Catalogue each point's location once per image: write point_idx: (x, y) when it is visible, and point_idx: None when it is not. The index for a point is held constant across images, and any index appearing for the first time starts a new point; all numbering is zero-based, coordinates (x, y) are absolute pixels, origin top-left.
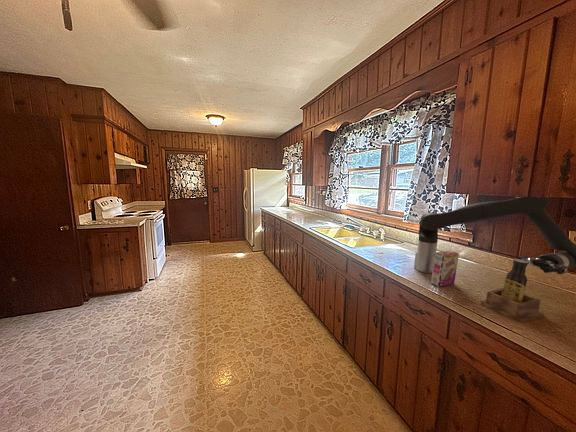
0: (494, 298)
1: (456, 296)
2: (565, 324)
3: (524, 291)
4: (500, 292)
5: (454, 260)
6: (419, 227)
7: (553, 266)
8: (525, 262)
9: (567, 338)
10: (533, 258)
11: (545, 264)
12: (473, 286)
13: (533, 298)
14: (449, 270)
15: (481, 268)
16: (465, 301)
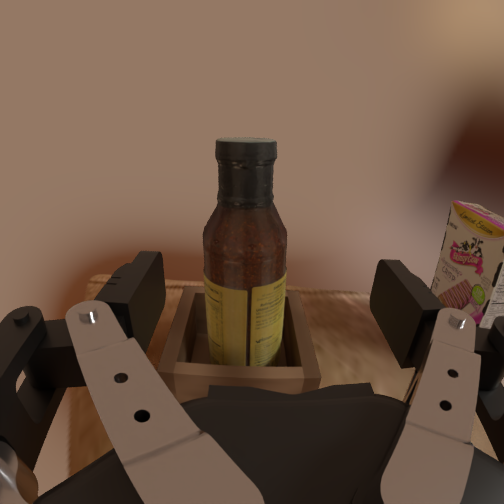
0: None
1: (359, 317)
2: (84, 414)
3: (205, 297)
4: (293, 338)
5: (483, 255)
6: None
7: (86, 304)
8: (221, 138)
9: None
10: (458, 392)
11: (201, 398)
12: None
13: (182, 362)
14: (457, 284)
15: None
16: (326, 314)
